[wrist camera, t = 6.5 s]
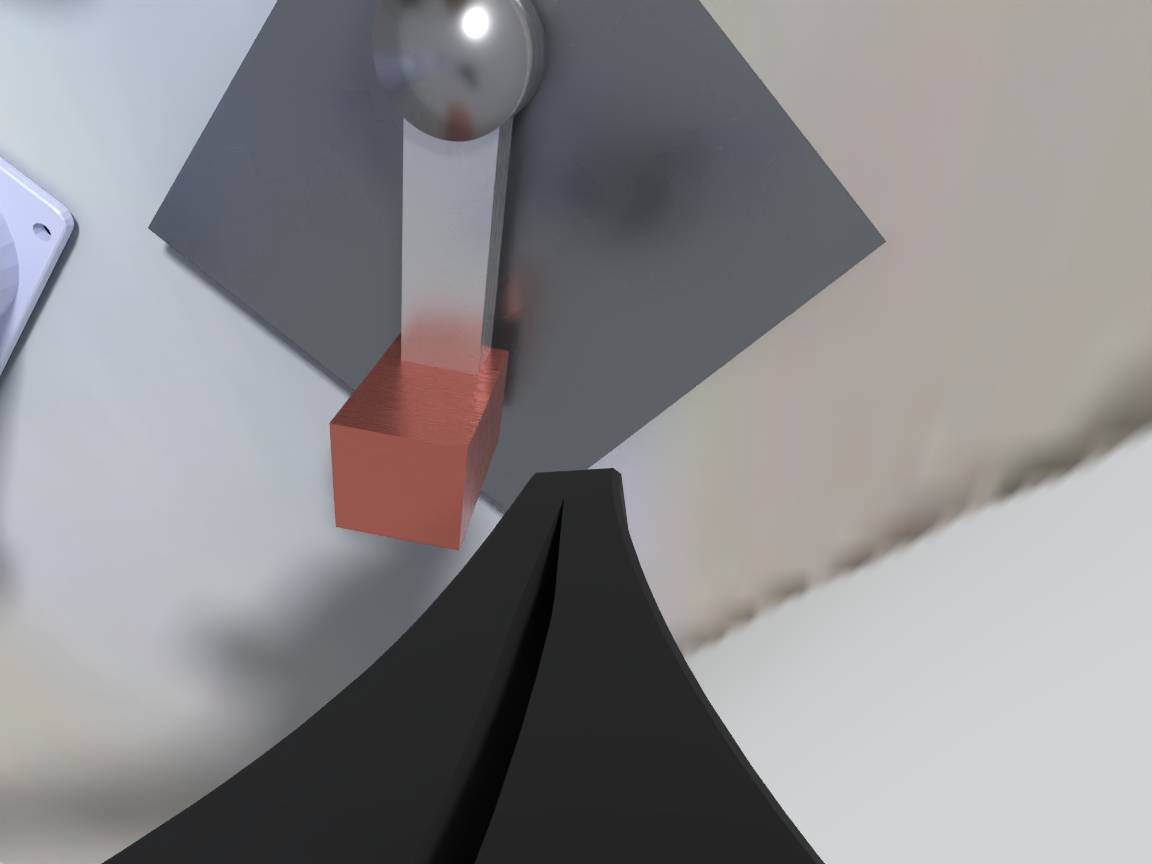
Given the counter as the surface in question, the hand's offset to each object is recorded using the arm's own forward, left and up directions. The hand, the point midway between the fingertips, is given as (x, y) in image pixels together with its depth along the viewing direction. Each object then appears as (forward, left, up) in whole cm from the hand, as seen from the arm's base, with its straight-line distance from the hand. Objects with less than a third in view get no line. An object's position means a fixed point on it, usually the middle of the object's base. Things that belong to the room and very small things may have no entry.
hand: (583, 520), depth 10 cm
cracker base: (-1, +3, -10) cm, 11 cm away
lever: (-1, +4, -9) cm, 10 cm away
